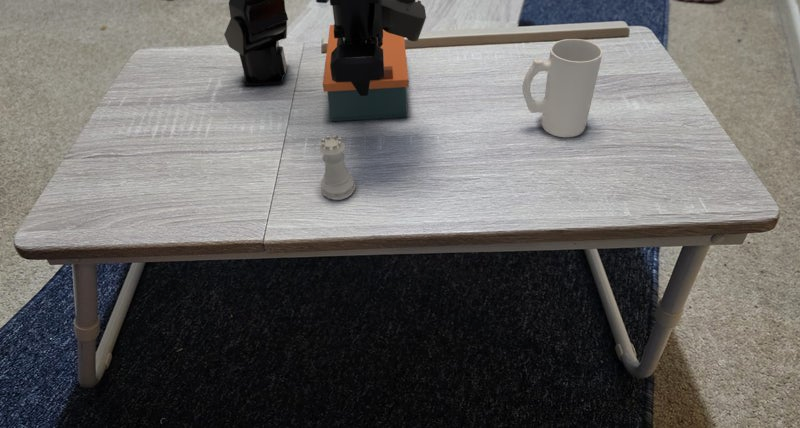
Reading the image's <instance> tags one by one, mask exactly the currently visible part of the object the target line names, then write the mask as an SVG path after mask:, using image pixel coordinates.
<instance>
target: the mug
mask: <svg viewBox="0 0 800 428" xmlns="http://www.w3.org/2000/svg"><path fill="white" fill-rule="evenodd" d="M549 48H550V49H549V57H548V59H547V61H546V60H545V61H544V59H541V58H540V59H537V58H534V59H532V63H531V65H530V66H529V69H528V70H527V72H526V74H525V75H524V78H523V81H522V95H523V99H524V101H525V104H526V107H527V110H528V111H529V112H530V113H531V114H534V113H540V114H542V117H541V126H542V128H543V129H544V131H545V132H546V133H547V134H550V135H552V136H555V137H558V138H573V137H577V136H579V135H581V134H582V133H583V132H584V131H585V130H586V126H587V122H588V118H589V114H590V111H591V105H592V100H593V97H594V93H595V92H594V91H595V89H596V84H597V79H598V75H599V71H600V66H601V63H602V57H603V54H604V51H603V49H602V47H601V46H600V45H598V44H597V43H595V42H593V41H590V40H586V39H582V38H581V39H580V38H566V39H560V40H558V41H555V42H554V43H553V44H552V45H550V47H549ZM540 72H541V73H542V72H547V74H546V82H545V90H544V97H543V99H542V100H539V101H537V100H535V99H534V98H533V97H532V93H531V84H532V82H533V79H534V78H535V77H536V75H538V74H539V73H540Z"/></svg>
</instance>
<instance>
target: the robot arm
mask: <svg viewBox="0 0 800 428" xmlns="http://www.w3.org/2000/svg"><path fill="white" fill-rule="evenodd" d="M329 5H330V6H332V14H333V22H334V24H333V25H334V38H338V39H337V47H336V48H335V49H334V50H333V52H332V54H331V63H330V69H331V76H332V80H333V81H335V82H352V84H353V86H354V87H355V89H356V90H357V92H358V93H359V95H360V96H367V95H368V92H369V85H370V80H381V79H382V78H384V55H383V49H382V48H380V47H381V46H382V45H383V30H384V31H386V32H388V33H391V34H394V35H398V36H401V37H404V39H407V41H410V42H417V41H419V39H420V35H421V33H422V30H423V27H424V25H425V22H426V20H427V13H426V7H425V5H424V4H422V1H421V0H329ZM228 8H229V15H230V19H229V22H228V24H227V26H226V29H225V32H224V38H225V40H226V43H227V45H228V47H229V48H230V49H232V50H233V51H235V52H237V53H238V54H239V58H240V62H241V66H242V70H243V74H244V80H243V86H244V87H251V86H252V87H253V86H271V85H281V84H283V81H284V77H285V76H286V74H287V69H288V67H287V66H288V65H287V61H286V55H285V51H284V47H283V46H282V45H280V42H279V41H282V40H285V39H287V35H288V21H289V17H288V14H287V11H286V2H285V0H228Z"/></svg>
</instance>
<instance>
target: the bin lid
mask: <svg viewBox="0 0 800 428" xmlns="http://www.w3.org/2000/svg"><path fill="white" fill-rule="evenodd" d="M337 39H338V38H334V24H330V25H329V30H328V38H327V47H326V55H325V63H324V70H323V71H324V72H323V79H322V88H323V92H324V93H325V92H326V93H327V91H344V90H356V89H355V87H354V86H353V84H352V82H335V81H333V80H332V76H331V69H330V63H331V54H332V52H333V50H334V49H335V48H336V47H337ZM405 41H406V40H405V37H401V36H398V35H394V34H391V33H388V32H386V31H384V30H383V45H382V46H381V47H380V48H382V49H383V55H384V78H382V79H381V80H370V85H369V89H379V88H397V87H406V88H409V87H410V86H409V73H408V63H407V62H408V61H407V52H406V51H407V50H406V42H405Z"/></svg>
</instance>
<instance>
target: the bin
mask: <svg viewBox="0 0 800 428" xmlns="http://www.w3.org/2000/svg"><path fill="white" fill-rule="evenodd" d="M326 93H327V101H328V106H329V113H330V114H329V115H330V121H331V122H343V121H360V120H378V119H379V120H380V119H395V118H396V119H397V118H407V117H408V109H407V106H408V105H407V87H397V88H379V89H369V92H368V95H367V96H360V95H359V93H358V92H357V90H344V91H326Z"/></svg>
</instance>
